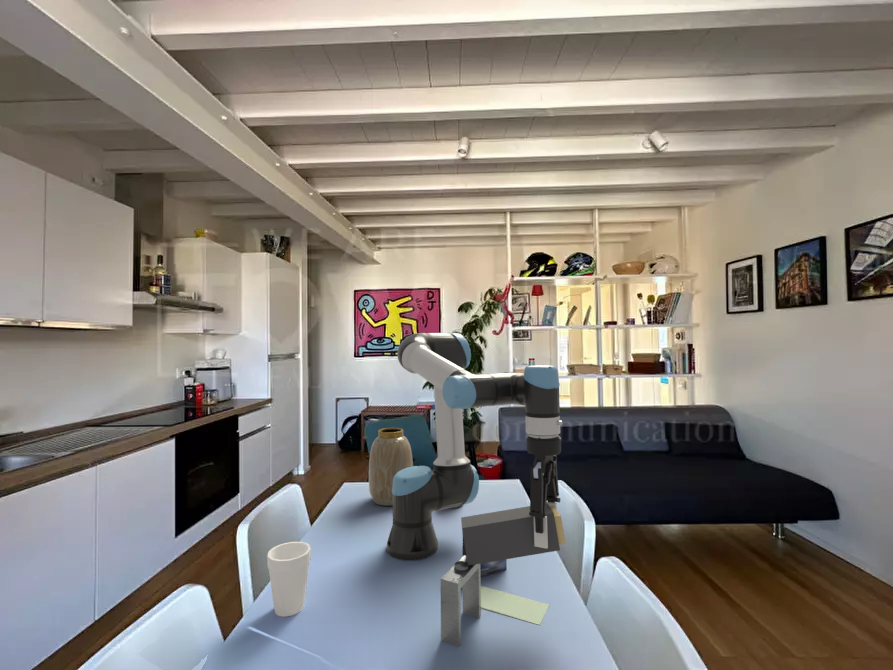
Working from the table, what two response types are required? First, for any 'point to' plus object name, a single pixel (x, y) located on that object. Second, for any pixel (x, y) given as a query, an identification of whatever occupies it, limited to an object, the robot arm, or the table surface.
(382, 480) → the vase
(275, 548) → the foam cup
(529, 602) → the mat
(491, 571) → the small box
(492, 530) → the plug
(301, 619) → the table surface
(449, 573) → the frame
